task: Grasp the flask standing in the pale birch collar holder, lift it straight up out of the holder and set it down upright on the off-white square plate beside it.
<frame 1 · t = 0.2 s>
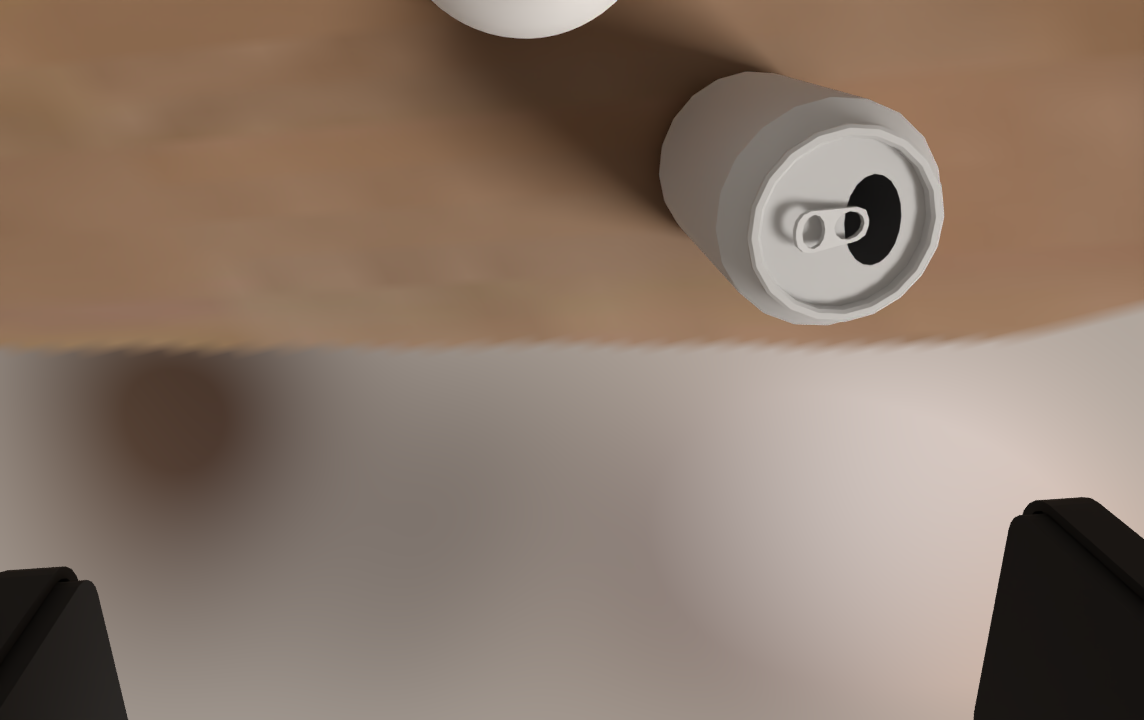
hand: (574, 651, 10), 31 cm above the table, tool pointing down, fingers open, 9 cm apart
can: (740, 160, 40), on the table
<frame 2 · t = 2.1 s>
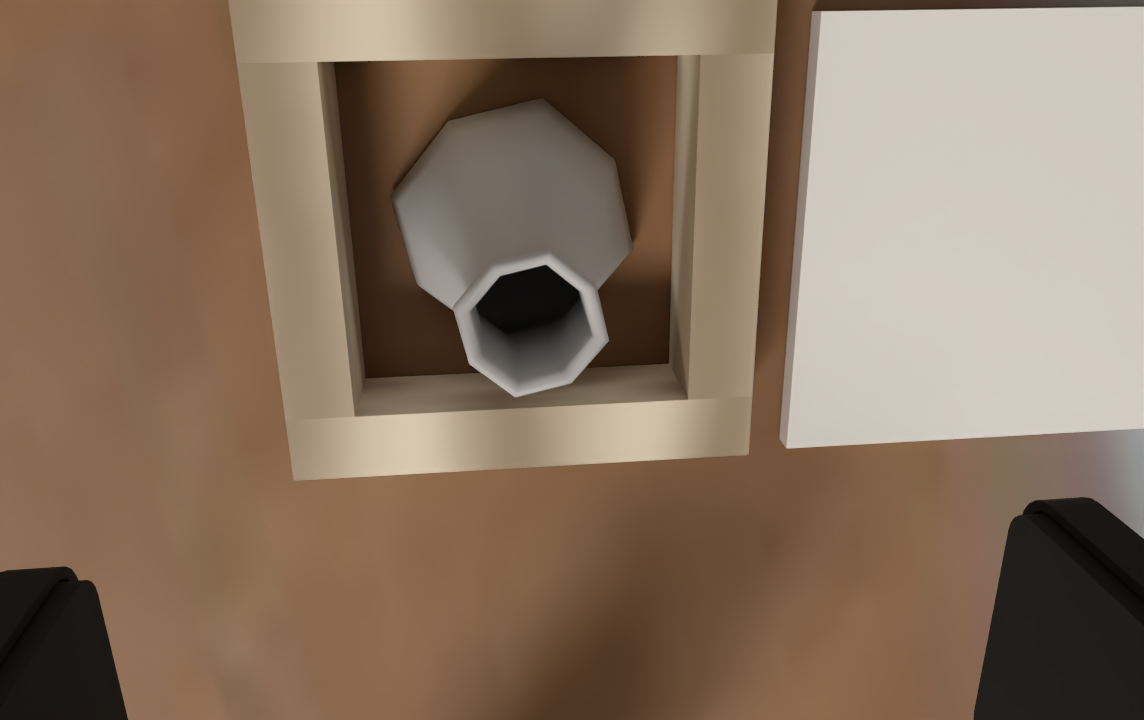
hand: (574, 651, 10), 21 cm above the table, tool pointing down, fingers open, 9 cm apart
holder: (514, 221, 29), on the table
flask: (513, 219, 29), on the table
plate: (1001, 235, 31), on the table
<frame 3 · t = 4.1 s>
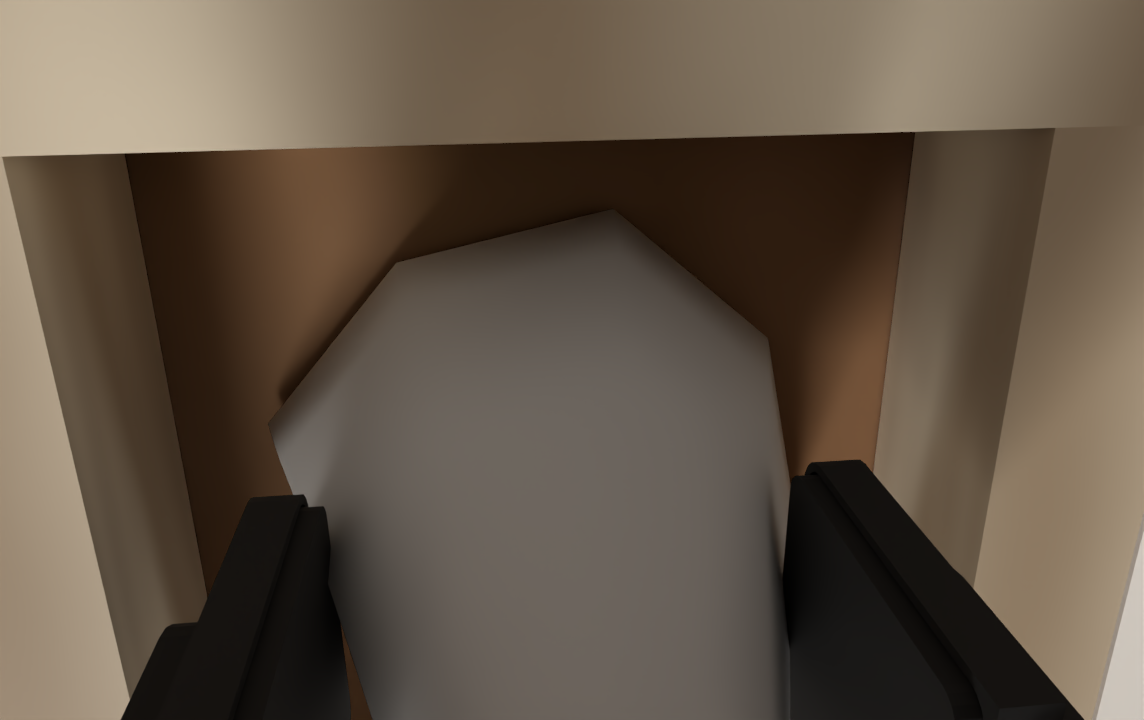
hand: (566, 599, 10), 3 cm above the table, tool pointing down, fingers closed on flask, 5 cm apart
holder: (543, 461, 13), on the table
flask: (542, 454, 14), on the table, touching gripper
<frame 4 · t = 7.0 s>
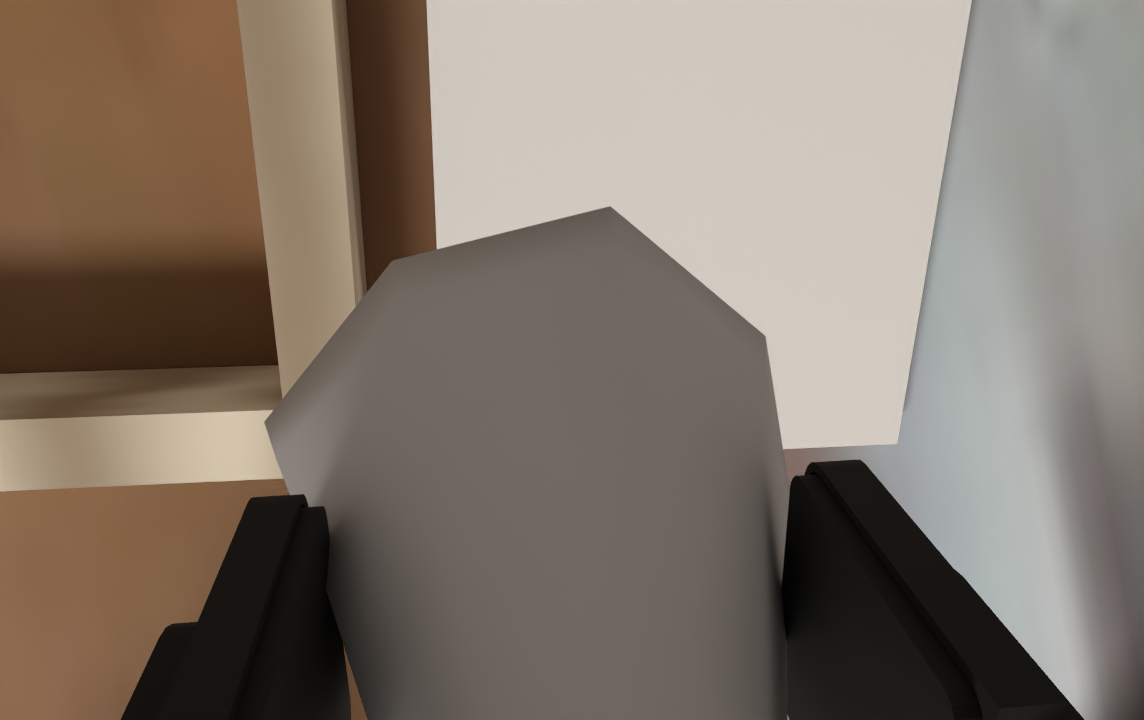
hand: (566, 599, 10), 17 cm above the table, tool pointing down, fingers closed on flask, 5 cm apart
holder: (83, 192, 24), on the table
flask: (539, 452, 14), point 13 cm above the table, touching gripper
plate: (686, 221, 26), on the table
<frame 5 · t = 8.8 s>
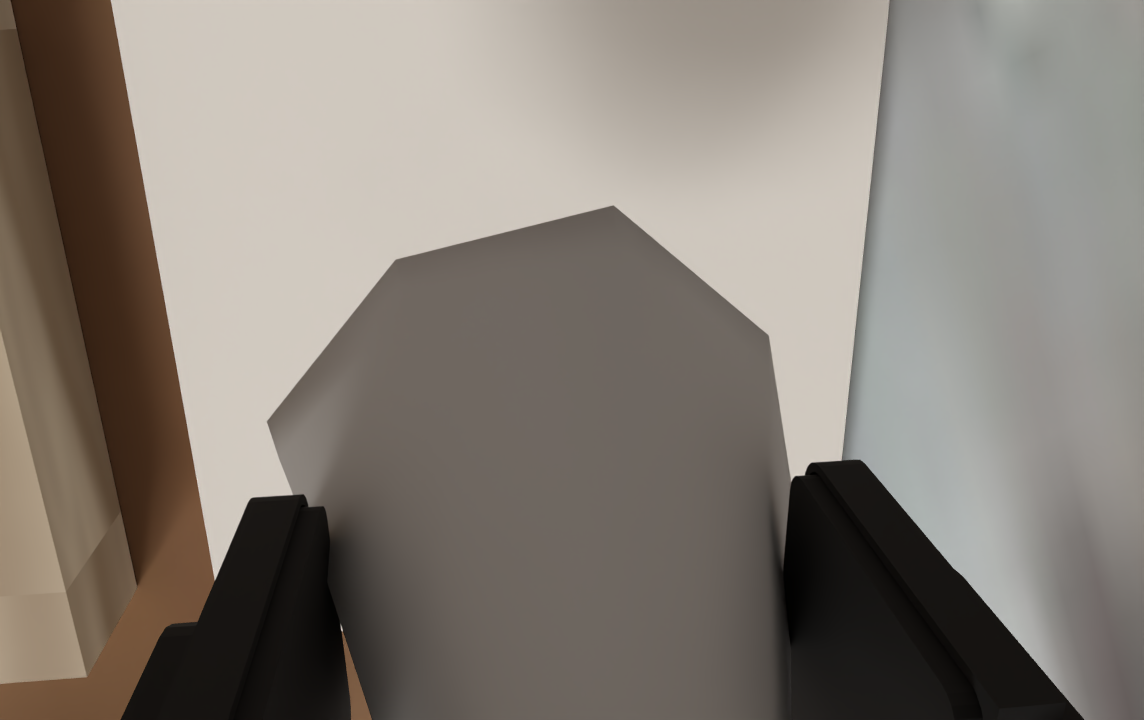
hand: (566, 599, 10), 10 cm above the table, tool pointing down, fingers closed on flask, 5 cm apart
flask: (542, 452, 14), point 7 cm above the table, touching gripper
plate: (524, 320, 20), on the table
when the fingers open (5 cm above the table, at t = 10.1 s): flask drops 1 cm, resting on plate.
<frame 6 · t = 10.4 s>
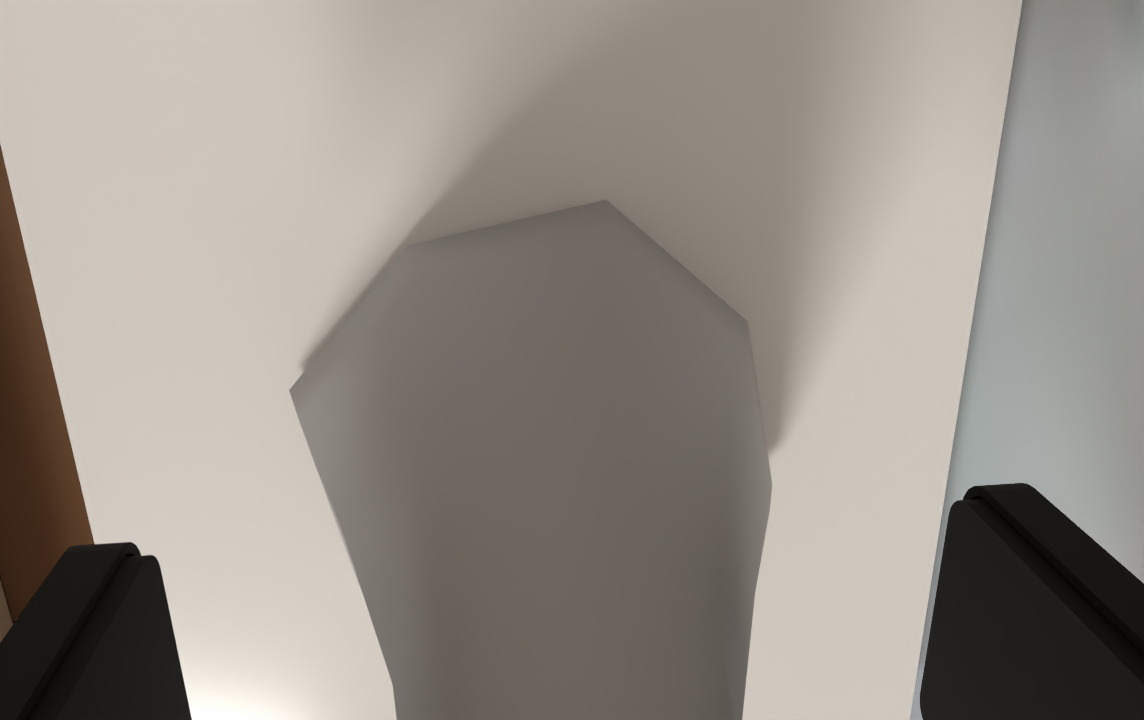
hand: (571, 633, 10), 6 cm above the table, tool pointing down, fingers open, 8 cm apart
flask: (539, 426, 15), point 1 cm above the table, touching plate
plate: (532, 401, 15), on the table
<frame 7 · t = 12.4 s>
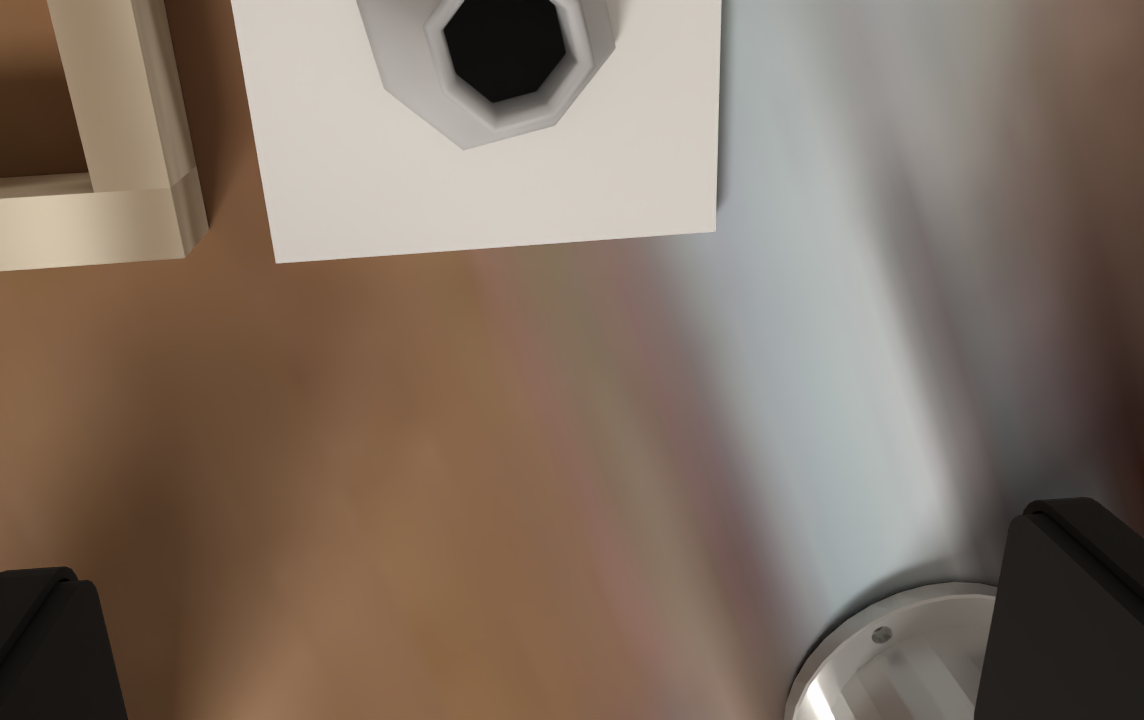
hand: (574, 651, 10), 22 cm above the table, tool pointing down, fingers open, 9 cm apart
flask: (486, 16, 27), point 1 cm above the table, touching plate
plate: (483, 11, 28), on the table
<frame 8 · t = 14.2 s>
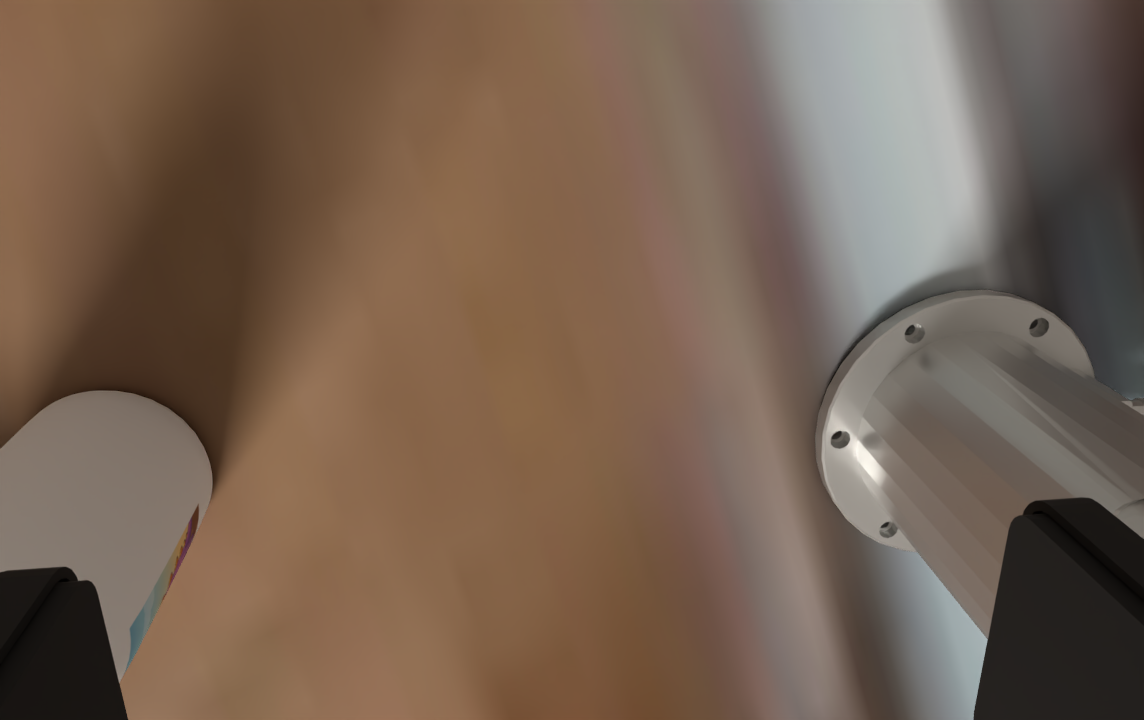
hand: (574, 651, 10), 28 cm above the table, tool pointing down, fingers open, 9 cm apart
milk bottle: (121, 466, 39), on the table
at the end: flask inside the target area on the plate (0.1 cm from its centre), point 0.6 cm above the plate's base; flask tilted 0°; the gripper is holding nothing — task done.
